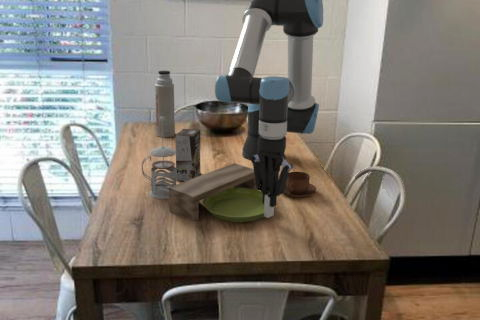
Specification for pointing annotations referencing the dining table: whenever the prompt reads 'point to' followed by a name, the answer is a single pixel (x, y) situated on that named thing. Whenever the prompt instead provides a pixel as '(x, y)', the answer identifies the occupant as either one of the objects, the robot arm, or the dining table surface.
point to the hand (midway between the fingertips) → (268, 215)
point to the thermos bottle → (164, 104)
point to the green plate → (236, 205)
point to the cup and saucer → (299, 185)
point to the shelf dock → (208, 188)
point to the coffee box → (187, 154)
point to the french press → (161, 187)
